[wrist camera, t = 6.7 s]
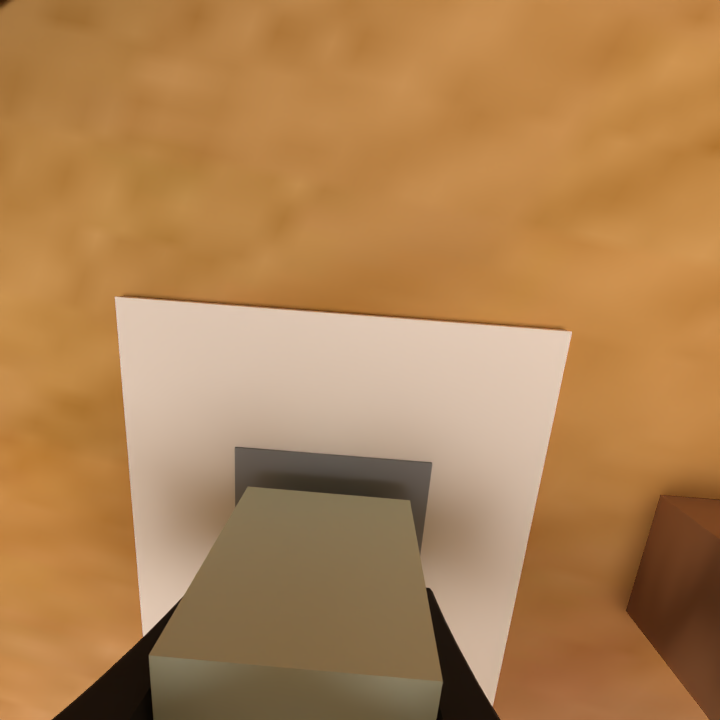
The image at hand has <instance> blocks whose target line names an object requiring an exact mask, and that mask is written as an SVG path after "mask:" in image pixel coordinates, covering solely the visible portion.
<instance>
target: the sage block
mask: <svg viewBox="0 0 720 720" xmlns="http://www.w3.org/2000/svg"><path fill="white" fill-rule="evenodd" d="M149 667H150V681H151V694H152V708H153V720H436V719H437V713H438V707H439V702H440V696H441V690H442V684H443V679H442V674H441V668H440V663H439V657H438V652H437V646H436V641H435V635H434V630H433V624H432V619H431V613H430V608H429V602H428V597H427V591H426V586H425V580H424V575H423V569H422V564H421V558H420V553H419V547H418V542H417V536H416V531H415V525H414V520H413V514H412V509H411V503H410V500H401V499H389V498H377V497H365V496H354V495H342V494H330V493H318V492H306V491H295V490H283V489H271V488H259V487H247V489H246V490H245V492H244V494H243V495H242V497H241V499H240V500H239V502H238V504H237V506H236V507H235V509H234V511H233V512H232V514H231V516H230V517H229V519H228V521H227V523H226V524H225V526H224V528H223V529H222V531H221V533H220V535H219V536H218V538H217V540H216V541H215V543H214V545H213V546H212V548H211V550H210V552H209V553H208V555H207V557H206V558H205V560H204V562H203V564H202V565H201V567H200V569H199V570H198V572H197V574H196V575H195V577H194V579H193V581H192V582H191V584H190V586H189V587H188V589H187V591H186V593H185V594H184V596H183V598H182V599H181V601H180V603H179V604H178V606H177V608H176V610H175V611H174V613H173V615H172V616H171V618H170V620H169V621H168V623H167V625H166V627H165V628H164V630H163V632H162V633H161V635H160V637H159V639H158V640H157V642H156V644H155V645H154V647H153V649H152V650H151V652H150V654H149Z"/></svg>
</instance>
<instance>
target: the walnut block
mask: <svg viewBox="0 0 720 720" xmlns="http://www.w3.org/2000/svg"><path fill="white" fill-rule="evenodd" d="M626 611H627V613H628V614H629V615H630V617H631V618H632V619H633V621H634V622H635V623H636V624H637V626H638V627H639V628H640V630H641V631H642V632H643V634H644V635H645V636H646V637H647V639H648V640H649V641H650V643H651V644H652V645H653V647H654V648H655V649H656V650H657V652H658V653H659V654H660V656H661V657H662V658H663V660H664V661H665V662H666V663H667V665H668V666H669V667H670V669H671V670H672V671H673V673H674V674H675V675H676V676H677V678H678V679H679V680H680V682H681V683H682V684H683V686H684V687H685V688H686V689H687V691H688V692H689V693H690V695H691V696H692V697H693V699H694V700H695V701H696V702H697V704H698V705H699V706H700V708H701V709H702V710H703V712H704V713H705V714H706V715H707V717H708V718H709V719H710V720H720V500H717V499H704V498H691V497H679V496H666V495H660V499H659V502H658V506H657V509H656V512H655V516H654V519H653V522H652V526H651V529H650V532H649V536H648V539H647V542H646V546H645V549H644V552H643V556H642V559H641V562H640V566H639V569H638V572H637V576H636V579H635V582H634V586H633V589H632V592H631V596H630V599H629V602H628V606H627V609H626Z"/></svg>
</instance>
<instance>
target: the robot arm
mask: <svg viewBox="0 0 720 720" xmlns="http://www.w3.org/2000/svg"><path fill="white" fill-rule="evenodd" d="M426 591H427V597H428V602H429V608H430V613H431V619H432V624H433V630H434V635H435V641H436V646H437V652H438V657H439V663H440V668H441V674H442V679H443V684H442V690H441V696H440V702H439V707H438V713H437V719H436V720H500V718H499V717H498V715H497V713H496V712H495V710H494V709H493V707H492V705H491V704H490V702H489V700H488V699H487V697H486V695H485V694H484V692H483V690H482V688H481V687H480V685H479V683H478V681H477V680H476V678H475V676H474V674H473V672H472V670H471V669H470V667H469V665H468V663H467V661H466V659H465V658H464V656H463V654H462V652H461V650H460V648H459V646H458V644H457V643H456V641H455V639H454V637H453V635H452V633H451V631H450V629H449V627H448V624H447V622H446V620H445V618H444V616H443V614H442V612H441V610H440V607H439V605H438V603H437V601H436V598H435V596H434V593H433V591H432V590H431V589H430V588H426ZM182 598H183V597H182ZM182 598H181V599H182ZM181 599H180V600H179V601H178V602H177V603H176V604H175V605H174V606H173V607H172V608H171V609H170V610H169V612H168V613H167V614H166V615H165V616H164V617H163V618H162V619H161V620H160V621H159V622H158V623H157V624H156V625H155V626H154V627H153V628H152V629H151V630H150V631H149V632H148V633H147V634H146V635H145V636H144V637H143V638H142V639H141V640H140V641H139V642H138V643H137V644H136V645H135V646H134V647H133V648H132V649H130V650H129V651H128V652H127V653H126V654H125V655H124V656H123V657H122V658H121V659H120V660H119V661H118V662H117V663H115V664H114V665H113V666H112V667H111V668H110V669H109V670H108V671H107V672H106V673H105V674H104V675H103V676H102V677H100V678H99V679H98V680H97V681H96V682H95V683H94V684H93V685H92V686H90V687H89V688H88V689H87V690H86V691H85V692H84V693H83V694H81V695H80V696H79V697H78V698H77V699H76V700H75V701H73V702H72V703H71V704H70V705H69V706H68V707H66V708H65V709H64V710H63V711H62V712H60V713H59V714H58V715H57V716H56V717H54V718H53V719H52V720H153V708H152V694H151V681H150V667H149V654H150V652H151V650H152V649H153V647H154V645H155V644H156V642H157V640H158V639H159V637H160V635H161V633H162V632H163V630H164V628H165V627H166V625H167V623H168V621H169V620H170V618H171V616H172V615H173V613H174V611H175V610H176V608H177V606H178V604H179V603H180V601H181Z"/></svg>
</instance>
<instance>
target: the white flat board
mask: <svg viewBox="0 0 720 720" xmlns="http://www.w3.org/2000/svg"><path fill="white" fill-rule="evenodd" d="M115 304H116V316H117V328H118V340H119V352H120V365H121V377H122V389H123V401H124V413H125V425H126V437H127V449H128V461H129V473H130V485H131V497H132V509H133V521H134V533H135V546H136V558H137V570H138V582H139V594H140V606H141V618H142V630H143V637H144V636H145V635H146V634H147V633H148V632H149V631H150V630H151V629H152V628H153V627H154V626H155V625H156V624H157V623H158V622H159V621H160V620H161V619H162V618H163V617H164V616H165V615H166V614H167V613H168V612H169V610H170V609H171V608H172V607H173V606H174V605H175V604H176V603H177V602H178V601H179V600H180V599H181V598H182V597H183V596H184V594H185V593H186V591H187V589H188V587H189V586H190V584H191V582H192V581H193V579H194V577H195V575H196V574H197V572H198V570H199V569H200V567H201V565H202V564H203V562H204V560H205V558H206V557H207V555H208V553H209V552H210V550H211V548H212V546H213V545H214V543H215V541H216V540H217V538H218V536H219V535H220V533H221V531H222V529H223V528H224V526H225V524H226V523H227V521H228V519H229V517H230V516H231V514H232V512H233V511H234V509H235V507H236V506H237V504H238V502H239V500H240V499H241V497H242V495H243V494H244V492H245V490H246V489H247V487H259V488H271V489H283V490H295V491H306V492H318V493H330V494H342V495H354V496H365V497H377V498H389V499H401V500H410V503H411V509H412V514H413V520H414V525H415V531H416V536H417V542H418V547H419V553H420V558H421V564H422V569H423V575H424V580H425V586H426V588H430V589H431V590H432V591H433V593H434V596H435V598H436V601H437V603H438V605H439V607H440V610H441V612H442V614H443V616H444V618H445V620H446V622H447V624H448V627H449V629H450V631H451V633H452V635H453V637H454V639H455V641H456V643H457V644H458V646H459V648H460V650H461V652H462V654H463V656H464V658H465V659H466V661H467V663H468V665H469V667H470V669H471V670H472V672H473V674H474V676H475V678H476V680H477V681H478V683H479V685H480V687H481V688H482V690H483V692H484V694H485V695H486V697H487V699H488V700H489V702H490V704H491V705H492V707H493V703H494V698H495V694H496V689H497V684H498V679H499V675H500V670H501V665H502V661H503V656H504V651H505V646H506V642H507V637H508V632H509V627H510V623H511V618H512V613H513V609H514V604H515V599H516V594H517V590H518V585H519V580H520V575H521V571H522V566H523V561H524V557H525V552H526V547H527V542H528V538H529V533H530V528H531V524H532V519H533V514H534V509H535V505H536V500H537V495H538V490H539V486H540V481H541V476H542V472H543V467H544V462H545V457H546V453H547V448H548V443H549V438H550V434H551V429H552V424H553V420H554V415H555V410H556V405H557V401H558V396H559V391H560V386H561V382H562V377H563V372H564V368H565V363H566V358H567V353H568V349H569V344H570V339H571V335H572V332H571V331H568V330H561V329H548V328H534V327H521V326H508V325H495V324H482V323H469V322H456V321H443V320H430V319H417V318H404V317H390V316H377V315H364V314H351V313H338V312H325V311H312V310H299V309H286V308H273V307H259V306H246V305H233V304H220V303H207V302H194V301H181V300H168V299H155V298H142V297H129V296H119V297H115Z"/></svg>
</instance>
